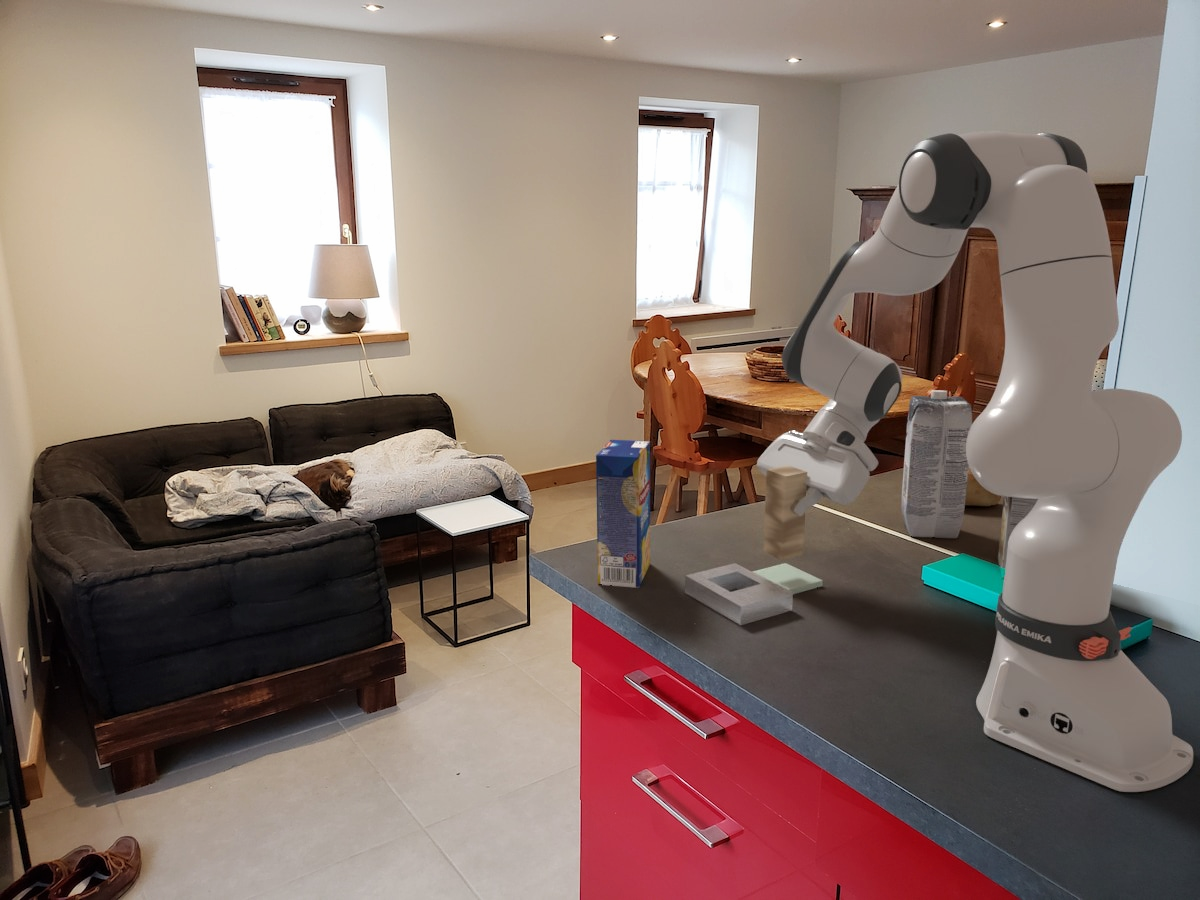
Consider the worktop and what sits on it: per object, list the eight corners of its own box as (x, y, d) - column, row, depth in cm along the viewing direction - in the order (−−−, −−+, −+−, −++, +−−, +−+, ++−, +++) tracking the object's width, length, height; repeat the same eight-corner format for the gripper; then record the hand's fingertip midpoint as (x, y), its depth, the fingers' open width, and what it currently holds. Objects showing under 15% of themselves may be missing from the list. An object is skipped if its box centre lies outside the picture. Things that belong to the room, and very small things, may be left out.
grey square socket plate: (792, 610, 136) (792, 592, 135) (740, 625, 131) (740, 606, 130) (734, 580, 148) (735, 563, 147) (685, 592, 143) (685, 575, 142)
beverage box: (650, 563, 156) (650, 441, 150) (638, 588, 145) (638, 457, 140) (611, 560, 157) (610, 439, 152) (597, 584, 147) (595, 455, 141)
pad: (822, 586, 145) (822, 580, 145) (780, 598, 141) (780, 592, 140) (785, 568, 152) (785, 563, 152) (743, 579, 148) (743, 573, 148)
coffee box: (996, 559, 155) (1005, 470, 151) (1036, 563, 153) (1046, 473, 149) (1000, 579, 147) (1010, 485, 143) (1043, 583, 145) (1054, 488, 141)
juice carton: (964, 541, 164) (978, 397, 157) (905, 539, 166) (916, 396, 159) (953, 525, 173) (966, 388, 166) (897, 523, 174) (907, 387, 168)
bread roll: (1005, 514, 179) (1009, 476, 177) (927, 510, 182) (930, 473, 180) (995, 500, 188) (998, 463, 186) (920, 496, 191) (923, 460, 189)
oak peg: (803, 554, 145) (807, 472, 141) (781, 560, 142) (785, 476, 139) (784, 546, 148) (787, 465, 145) (763, 551, 146) (766, 469, 143)
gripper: (778, 417, 152) (731, 481, 150) (868, 442, 135) (816, 514, 133) (796, 439, 156) (751, 502, 153) (887, 466, 139) (837, 537, 136)
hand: (782, 508), depth 143 cm, fingers closed on oak peg, 4 cm apart
